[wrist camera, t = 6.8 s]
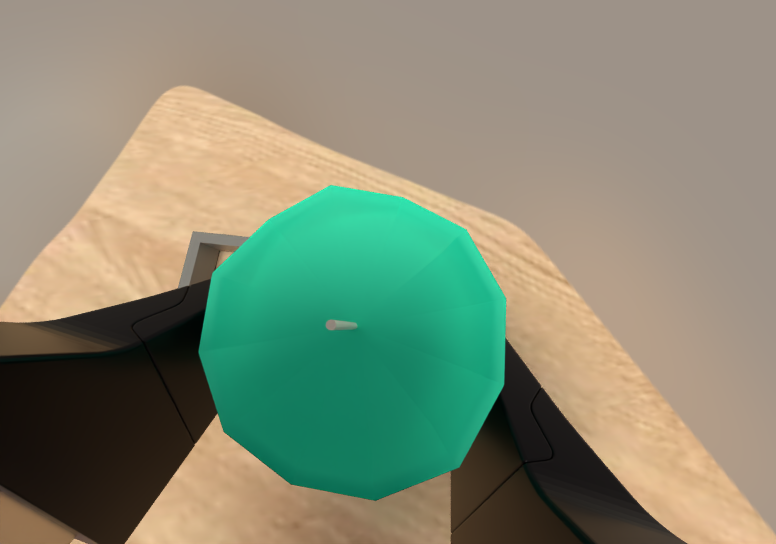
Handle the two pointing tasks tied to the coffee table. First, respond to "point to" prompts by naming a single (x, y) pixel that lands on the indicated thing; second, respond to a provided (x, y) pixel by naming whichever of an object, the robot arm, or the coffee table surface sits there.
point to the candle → (355, 343)
